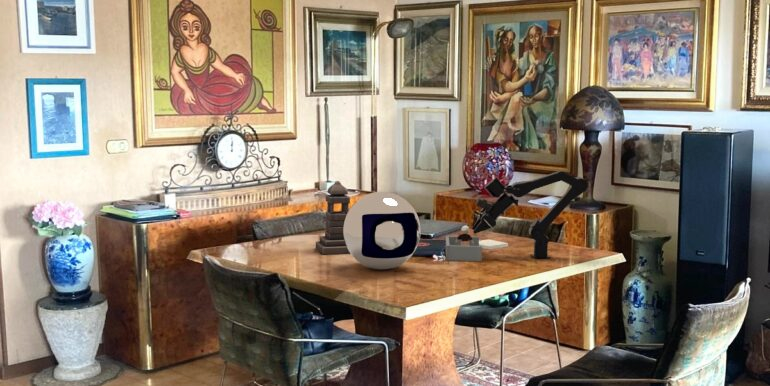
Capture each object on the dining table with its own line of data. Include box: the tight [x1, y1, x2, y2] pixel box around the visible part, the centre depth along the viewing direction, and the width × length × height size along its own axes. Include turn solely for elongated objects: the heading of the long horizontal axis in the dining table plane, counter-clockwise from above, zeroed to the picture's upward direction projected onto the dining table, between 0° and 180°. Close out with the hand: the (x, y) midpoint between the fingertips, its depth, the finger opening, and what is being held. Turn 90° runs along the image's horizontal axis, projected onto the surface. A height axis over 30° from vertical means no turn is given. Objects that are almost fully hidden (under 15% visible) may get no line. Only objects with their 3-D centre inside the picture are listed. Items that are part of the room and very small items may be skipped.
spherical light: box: [343, 191, 422, 271], centre depth 344 cm, size 30×29×30 cm
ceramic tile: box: [479, 239, 509, 250], centre depth 396 cm, size 12×12×2 cm
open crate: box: [445, 235, 483, 262], centre depth 374 cm, size 14×23×6 cm, turn 177°
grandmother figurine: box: [456, 225, 474, 246], centre depth 373 cm, size 8×4×13 cm, turn 84°
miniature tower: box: [315, 180, 351, 256], centre depth 379 cm, size 16×15×30 cm
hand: (473, 231), depth 373 cm, fingers open, 9 cm apart
